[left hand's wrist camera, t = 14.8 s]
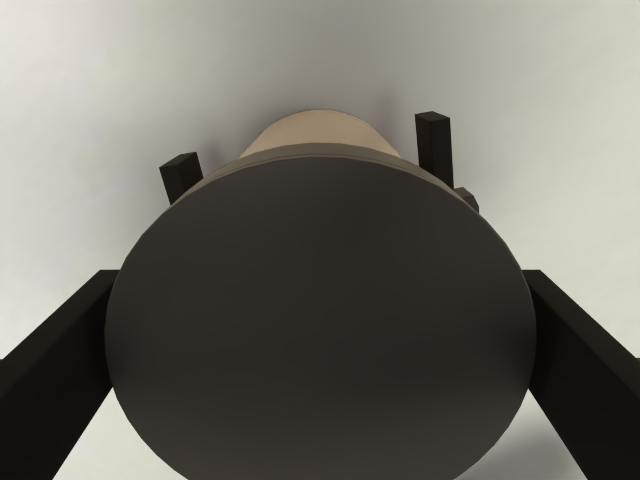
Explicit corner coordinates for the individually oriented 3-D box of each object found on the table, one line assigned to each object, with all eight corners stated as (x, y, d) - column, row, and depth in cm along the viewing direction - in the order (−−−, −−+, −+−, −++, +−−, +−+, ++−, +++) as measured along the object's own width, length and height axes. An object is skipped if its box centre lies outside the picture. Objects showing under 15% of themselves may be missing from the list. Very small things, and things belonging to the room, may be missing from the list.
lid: (222, 59, 10) (201, 57, 8) (585, 257, 12) (632, 290, 10) (88, 389, 13) (52, 438, 12) (384, 502, 15) (392, 559, 13)
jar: (414, 114, 24) (551, 182, 10) (393, 275, 27) (470, 493, 13) (235, 104, 23) (109, 157, 9) (237, 267, 27) (149, 480, 13)
